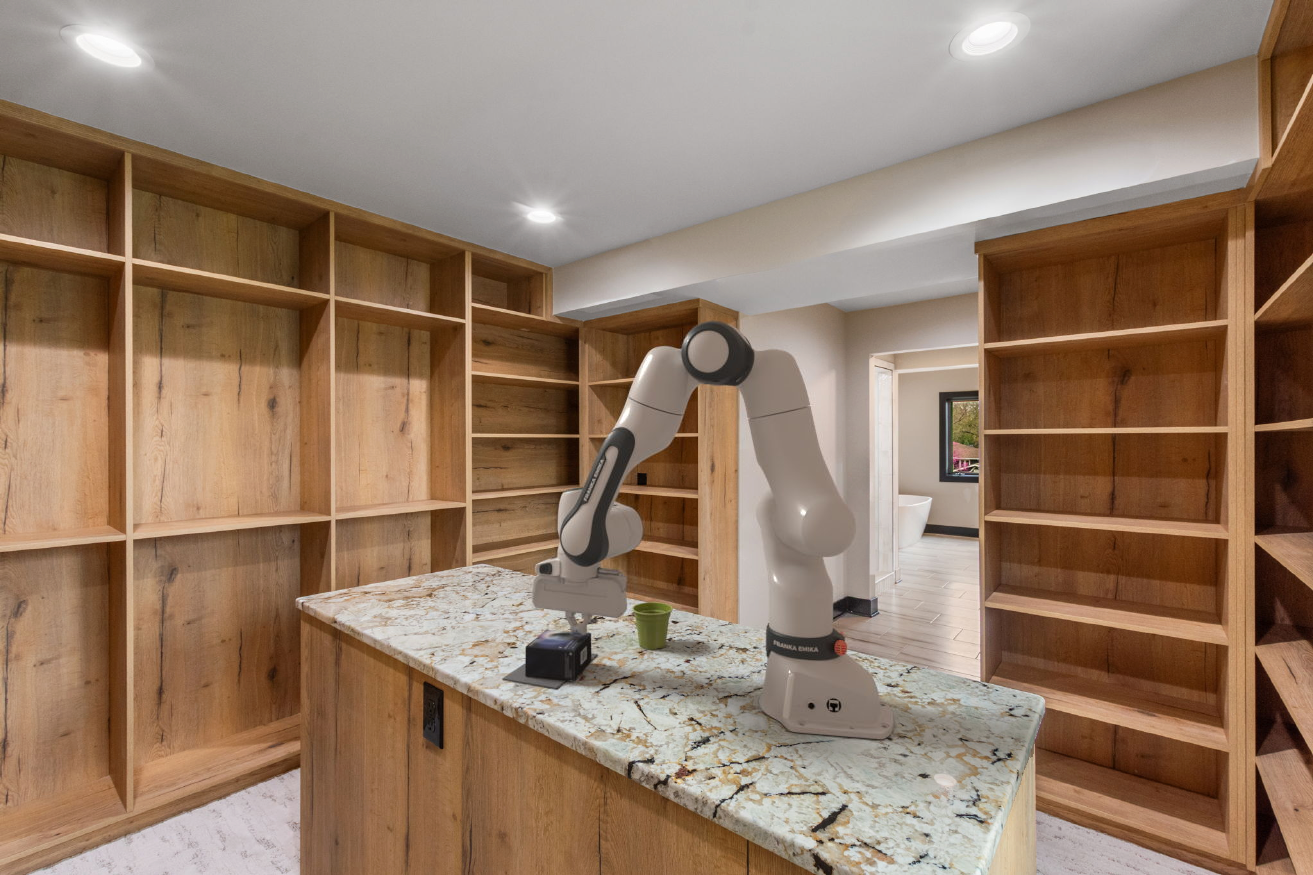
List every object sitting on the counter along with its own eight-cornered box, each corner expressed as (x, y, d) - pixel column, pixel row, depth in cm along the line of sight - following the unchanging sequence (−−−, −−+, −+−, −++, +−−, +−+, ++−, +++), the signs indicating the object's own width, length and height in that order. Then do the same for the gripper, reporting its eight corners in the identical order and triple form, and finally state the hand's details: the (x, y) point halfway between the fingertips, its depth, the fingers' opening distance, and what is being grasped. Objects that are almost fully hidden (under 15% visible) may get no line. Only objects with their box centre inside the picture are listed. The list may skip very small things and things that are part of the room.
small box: (574, 648, 110) (523, 645, 112) (574, 682, 110) (524, 678, 112) (591, 630, 120) (545, 627, 122) (592, 661, 120) (545, 658, 122)
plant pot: (626, 650, 127) (627, 612, 127) (638, 636, 137) (638, 600, 137) (667, 654, 125) (667, 615, 125) (676, 640, 134) (676, 603, 134)
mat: (597, 655, 124) (597, 654, 124) (556, 689, 108) (556, 687, 108) (549, 648, 129) (549, 646, 129) (502, 679, 112) (502, 678, 112)
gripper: (632, 566, 115) (631, 635, 115) (544, 558, 122) (543, 622, 122) (619, 573, 110) (619, 645, 110) (528, 564, 116) (527, 632, 116)
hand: (578, 633), depth 116 cm, fingers closed
